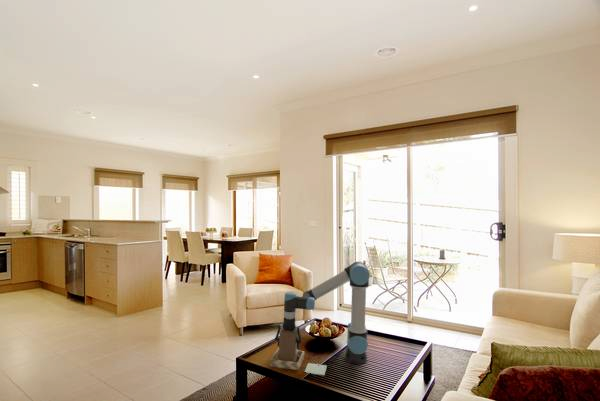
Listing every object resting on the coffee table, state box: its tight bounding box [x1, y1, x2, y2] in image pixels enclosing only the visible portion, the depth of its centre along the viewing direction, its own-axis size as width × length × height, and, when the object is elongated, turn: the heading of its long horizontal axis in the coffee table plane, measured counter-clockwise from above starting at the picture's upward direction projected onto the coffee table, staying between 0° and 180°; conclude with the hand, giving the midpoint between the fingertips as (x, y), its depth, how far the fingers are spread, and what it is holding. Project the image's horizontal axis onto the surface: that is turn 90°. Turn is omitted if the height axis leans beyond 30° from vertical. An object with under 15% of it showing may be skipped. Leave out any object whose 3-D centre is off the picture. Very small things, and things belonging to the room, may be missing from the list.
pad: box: [304, 362, 328, 376], centre depth 202 cm, size 12×12×1 cm
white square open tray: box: [269, 347, 305, 371], centre depth 210 cm, size 18×18×4 cm
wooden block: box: [278, 327, 298, 362], centre depth 211 cm, size 10×10×20 cm
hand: (288, 352), depth 211 cm, fingers closed on wooden block, 10 cm apart
